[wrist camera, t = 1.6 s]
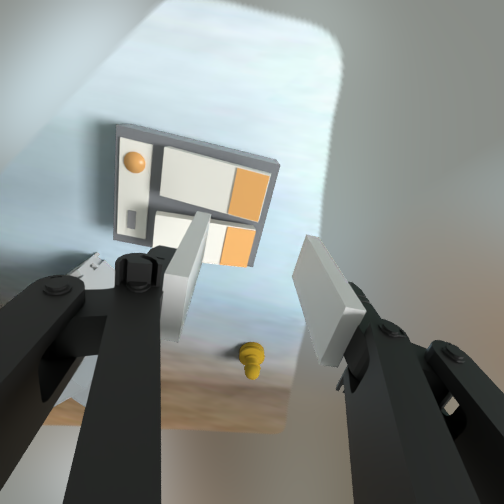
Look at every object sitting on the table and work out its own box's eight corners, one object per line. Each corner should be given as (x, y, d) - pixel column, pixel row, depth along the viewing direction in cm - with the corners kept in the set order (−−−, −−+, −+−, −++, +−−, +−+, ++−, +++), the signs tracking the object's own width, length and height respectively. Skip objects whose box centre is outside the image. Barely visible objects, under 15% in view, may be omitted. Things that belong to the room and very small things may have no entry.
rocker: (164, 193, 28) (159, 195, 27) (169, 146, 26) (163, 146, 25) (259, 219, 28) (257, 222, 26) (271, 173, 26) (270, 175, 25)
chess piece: (241, 340, 43) (240, 366, 38) (266, 343, 43) (268, 369, 39) (237, 359, 44) (237, 386, 40) (261, 361, 45) (263, 388, 40)
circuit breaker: (132, 345, 43) (80, 450, 29) (57, 280, 37) (-49, 370, 24) (169, 323, 41) (132, 423, 27) (97, 252, 36) (7, 332, 22)
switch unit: (127, 227, 34) (109, 242, 30) (131, 123, 29) (111, 124, 25) (251, 252, 36) (252, 270, 32) (276, 159, 31) (281, 166, 27)
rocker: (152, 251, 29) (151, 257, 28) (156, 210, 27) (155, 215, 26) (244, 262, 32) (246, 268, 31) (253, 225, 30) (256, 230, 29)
